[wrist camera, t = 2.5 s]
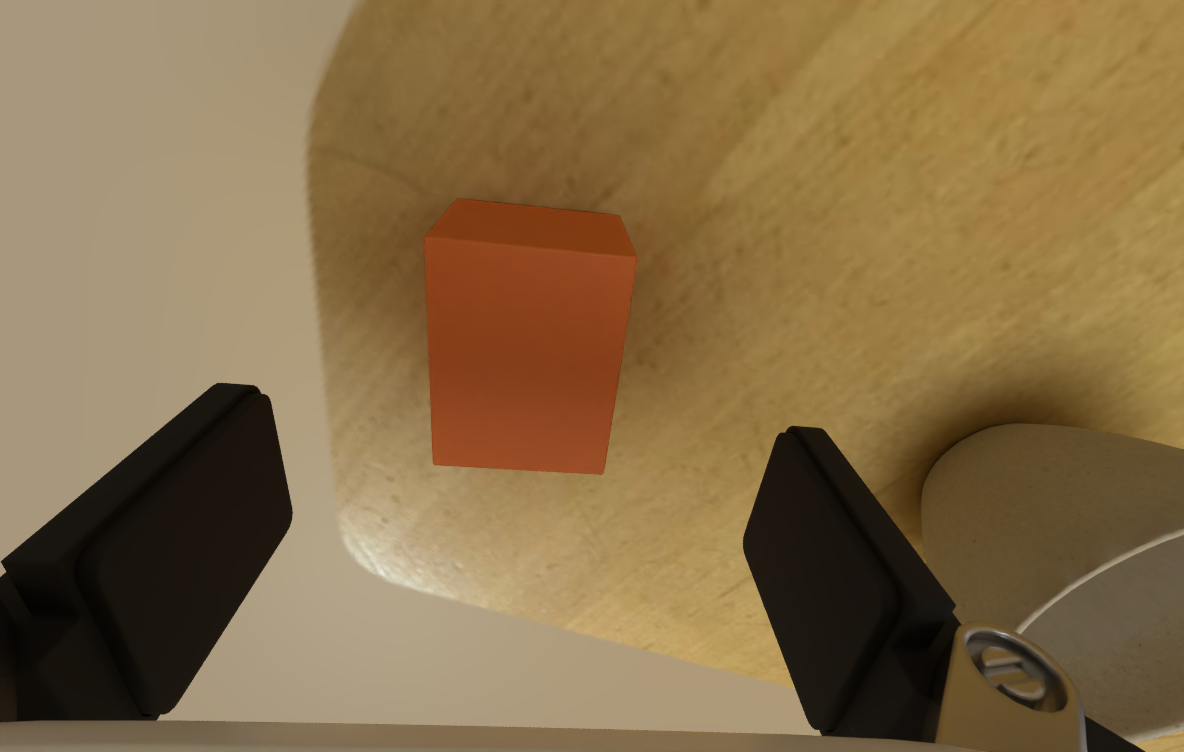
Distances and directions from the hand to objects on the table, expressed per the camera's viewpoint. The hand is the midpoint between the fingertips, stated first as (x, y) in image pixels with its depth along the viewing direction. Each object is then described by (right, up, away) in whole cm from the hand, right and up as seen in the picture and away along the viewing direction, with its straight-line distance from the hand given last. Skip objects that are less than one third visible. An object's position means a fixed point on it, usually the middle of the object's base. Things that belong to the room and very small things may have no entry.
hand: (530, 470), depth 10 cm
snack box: (-1, +4, +6) cm, 7 cm away
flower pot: (+16, -2, +10) cm, 19 cm away
